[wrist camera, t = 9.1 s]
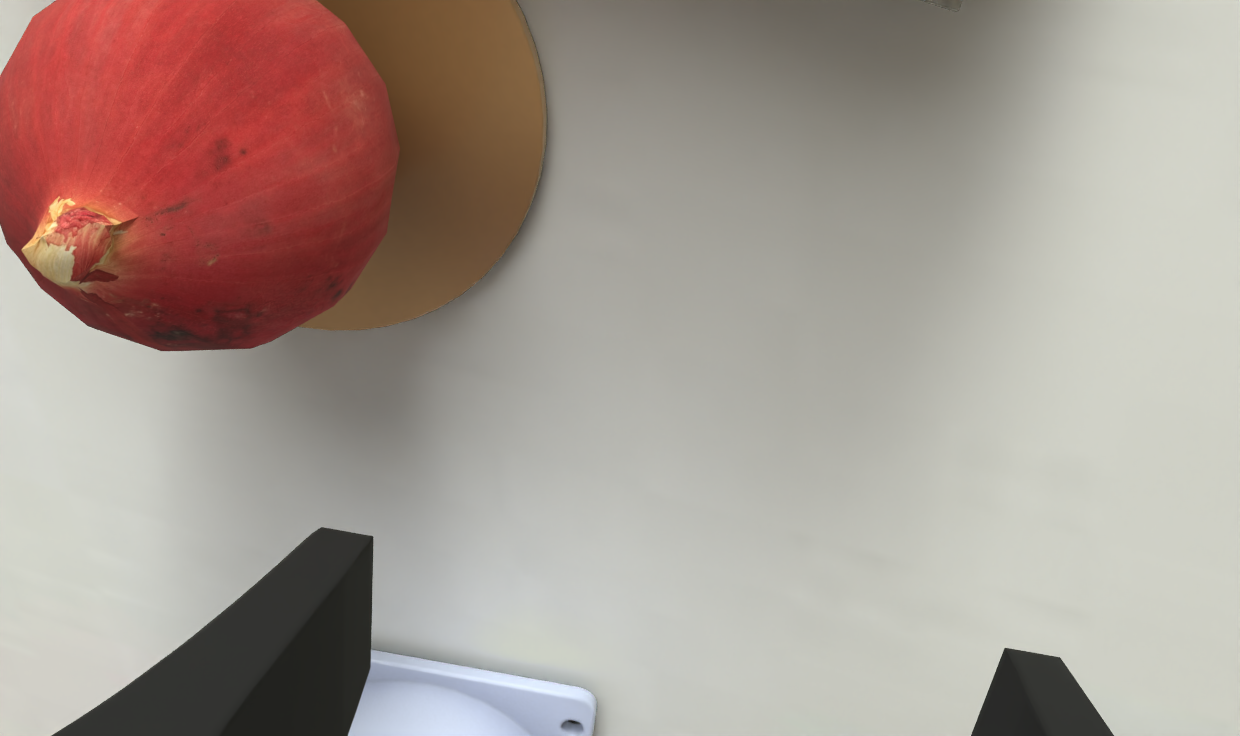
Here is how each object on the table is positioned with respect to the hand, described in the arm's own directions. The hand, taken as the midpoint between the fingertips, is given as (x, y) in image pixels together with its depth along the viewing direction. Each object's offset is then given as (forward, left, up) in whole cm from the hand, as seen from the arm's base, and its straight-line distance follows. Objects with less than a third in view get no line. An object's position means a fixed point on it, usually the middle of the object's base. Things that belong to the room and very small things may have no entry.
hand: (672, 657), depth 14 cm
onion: (+2, +8, -10) cm, 13 cm away
